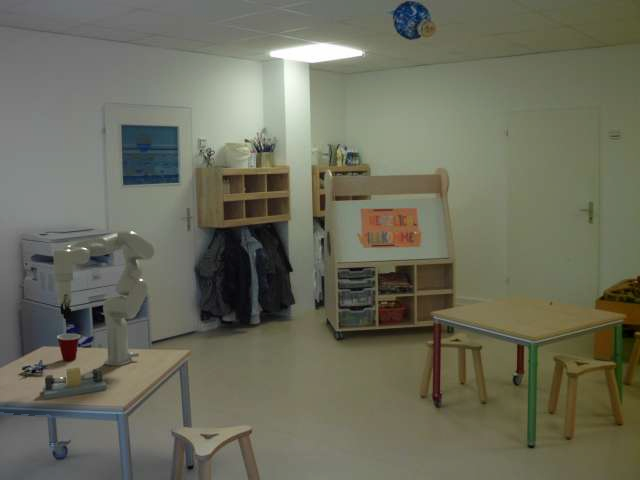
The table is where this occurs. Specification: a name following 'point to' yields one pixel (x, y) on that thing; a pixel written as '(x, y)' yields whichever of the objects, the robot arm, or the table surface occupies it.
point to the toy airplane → (34, 368)
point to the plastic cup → (68, 346)
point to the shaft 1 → (53, 381)
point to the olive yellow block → (73, 377)
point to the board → (74, 389)
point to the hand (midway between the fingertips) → (66, 316)
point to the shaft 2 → (94, 375)
